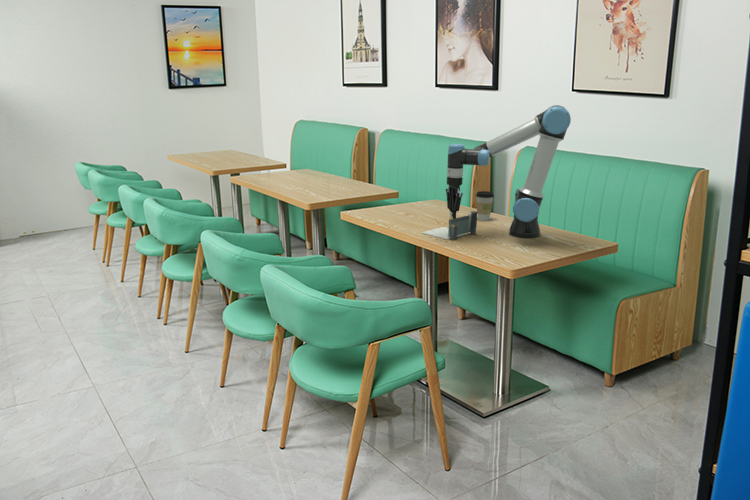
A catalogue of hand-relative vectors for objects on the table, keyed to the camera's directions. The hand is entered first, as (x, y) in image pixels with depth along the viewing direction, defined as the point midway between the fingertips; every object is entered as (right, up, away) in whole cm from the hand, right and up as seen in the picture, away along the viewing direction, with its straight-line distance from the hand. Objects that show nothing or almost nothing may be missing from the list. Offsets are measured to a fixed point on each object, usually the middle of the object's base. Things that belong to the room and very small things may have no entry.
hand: (452, 224), depth 305 cm
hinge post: (+11, -5, +5) cm, 13 cm away
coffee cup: (+22, +4, +37) cm, 43 cm away
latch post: (0, -8, -4) cm, 9 cm away
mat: (-3, -4, +7) cm, 9 cm away
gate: (+4, -5, +2) cm, 6 cm away
